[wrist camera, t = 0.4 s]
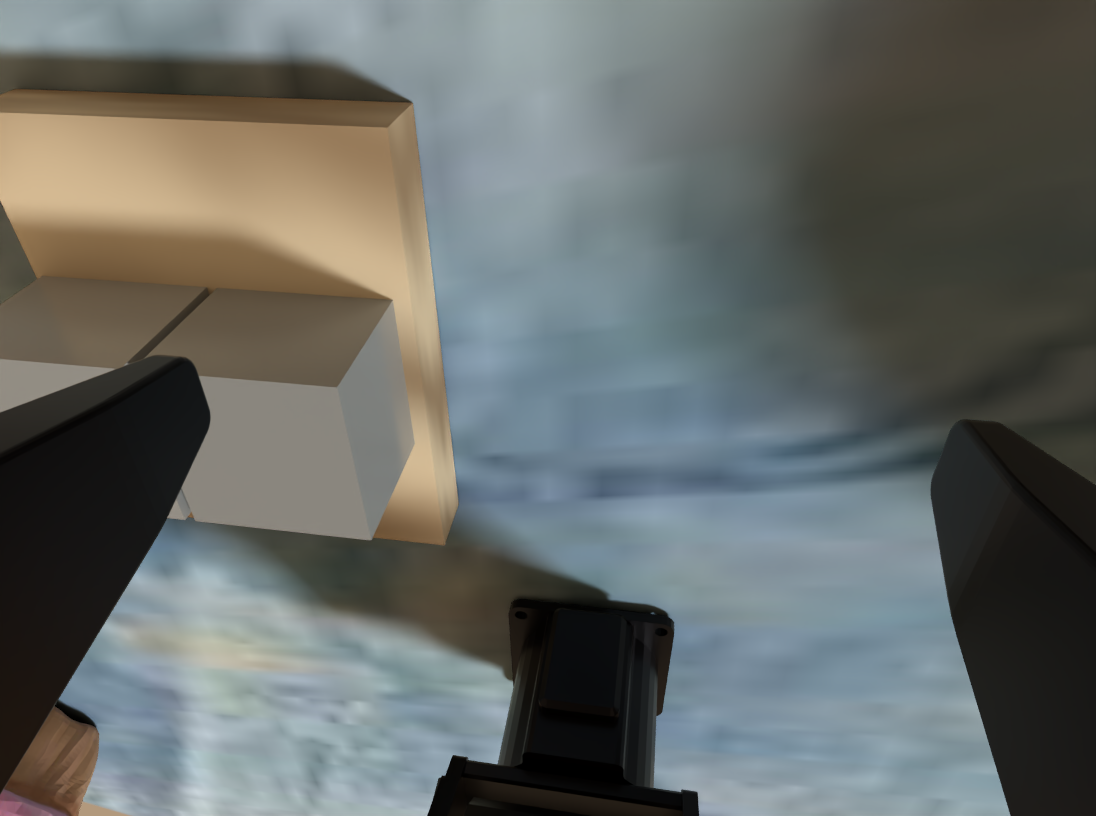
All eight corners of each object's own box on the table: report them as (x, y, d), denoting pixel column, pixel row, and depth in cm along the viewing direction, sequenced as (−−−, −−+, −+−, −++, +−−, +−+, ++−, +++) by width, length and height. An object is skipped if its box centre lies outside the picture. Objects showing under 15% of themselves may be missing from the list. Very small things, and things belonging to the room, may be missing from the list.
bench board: (458, 504, 27) (444, 545, 26) (177, 475, 29) (148, 512, 27) (413, 102, 19) (387, 127, 17) (15, 89, 20) (-43, 110, 18)
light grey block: (252, 428, 24) (185, 519, 20) (107, 415, 24) (20, 501, 21) (206, 287, 21) (119, 369, 17) (42, 275, 21) (-71, 352, 18)
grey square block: (414, 443, 23) (371, 540, 20) (261, 429, 24) (195, 521, 20) (392, 300, 20) (337, 387, 17) (217, 287, 20) (131, 370, 17)
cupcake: (-32, 705, 44) (-190, 895, 36) (17, 657, 39) (-150, 862, 31) (106, 774, 47) (-12, 963, 39) (166, 736, 42) (47, 942, 35)
